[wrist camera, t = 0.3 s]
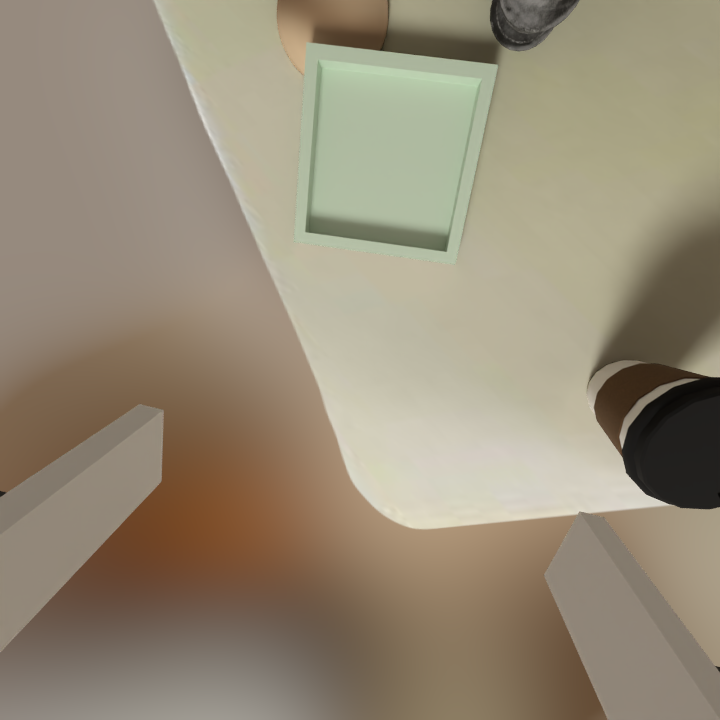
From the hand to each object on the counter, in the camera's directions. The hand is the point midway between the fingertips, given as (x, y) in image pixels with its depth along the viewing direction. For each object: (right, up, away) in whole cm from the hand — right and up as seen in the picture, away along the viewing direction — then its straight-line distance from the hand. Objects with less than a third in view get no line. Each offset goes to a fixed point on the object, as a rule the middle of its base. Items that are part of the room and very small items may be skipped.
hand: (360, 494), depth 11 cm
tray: (+2, +22, +21) cm, 30 cm away
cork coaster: (-2, +32, +18) cm, 37 cm away
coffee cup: (+27, +1, +26) cm, 37 cm away
